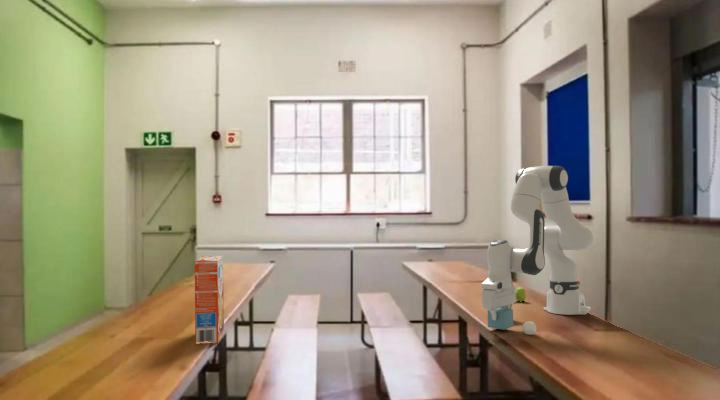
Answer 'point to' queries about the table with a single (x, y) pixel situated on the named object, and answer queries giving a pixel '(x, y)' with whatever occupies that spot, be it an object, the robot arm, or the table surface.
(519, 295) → the dumbbell
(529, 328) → the ball
